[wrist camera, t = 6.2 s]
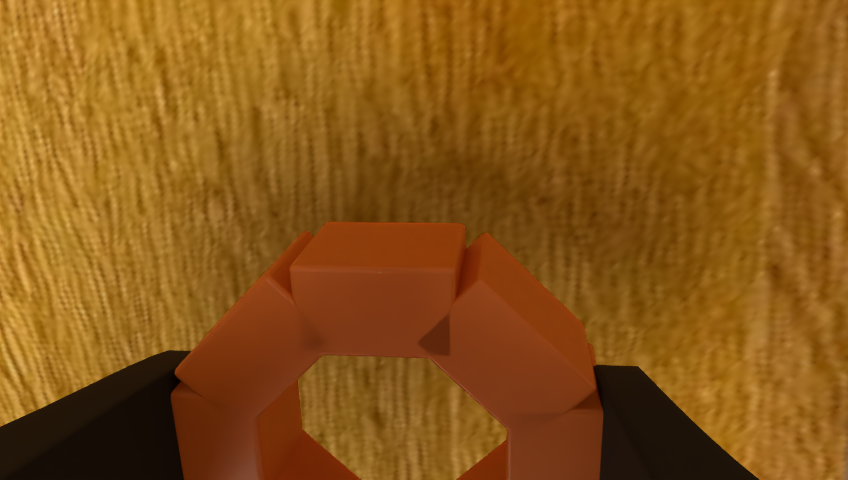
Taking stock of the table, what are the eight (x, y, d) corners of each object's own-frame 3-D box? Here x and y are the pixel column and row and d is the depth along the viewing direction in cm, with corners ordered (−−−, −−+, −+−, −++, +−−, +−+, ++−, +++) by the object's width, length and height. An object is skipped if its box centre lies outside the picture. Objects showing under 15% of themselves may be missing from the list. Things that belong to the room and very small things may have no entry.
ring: (411, 597, 12) (394, 694, 11) (157, 385, 11) (94, 453, 10) (670, 406, 10) (700, 486, 9) (391, 138, 10) (363, 170, 8)
